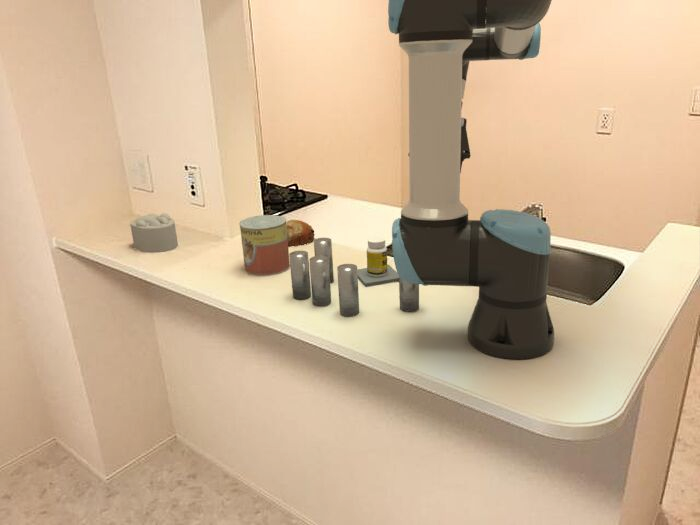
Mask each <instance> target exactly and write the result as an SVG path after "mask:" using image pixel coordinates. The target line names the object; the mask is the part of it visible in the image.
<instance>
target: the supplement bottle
mask: <svg viewBox="0 0 700 525" xmlns="http://www.w3.org/2000/svg"><path fill="white" fill-rule="evenodd" d="M387 265H388V248H387V246H386V239H385V238H384V237H382V236H381V237H380V236H373V237H369V238H368V239H367V247H366V268H367V273H368V275H369V276H372V277H381V276H385V275H386V274H387Z"/></svg>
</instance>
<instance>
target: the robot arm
mask: <svg viewBox="0 0 700 525" xmlns="http://www.w3.org/2000/svg"><path fill="white" fill-rule="evenodd" d="M552 2H553V1H552V0H388V7H387V14H388V22H387V23H388V30H389V32H390V33H391V34H394V35H398V46H399V47H400V48H401V49H402V50H403V51H404V52H405V54H407V57H408V139H409V140H408V157H409V158H408V160H409V161H408V163H409V164H408V165H409V166H408V167H409V168H408V169H409V170H408V173H409V175H408V176H409V179H408V180H409V184H408V185H409V190H408V191H409V194H408V195H409V200H408V202H407V203H406V204H405V205H404V206H403V207H402V208H401V209H400V217H398V218H396V219H395V220H393V223H392V226H391V238H392V240H391V246H392V256H393V262H394V266H395V271H396V272H397V273H398V275H399V277H400V278H401V279H402V280H403V281H404V282H406V283H412V284H419V285H422V286H424V287H426V286H446V287H447V286H449V287H451V286H452V287H478V299H477V301H476V304H475V306H474V308H473V310H472V314H471V317H470V319H469V321H468V324H467V340H468V342H469V343H470V345H472V346H473V348H475V349H477V350H478V351H479V352H482V353H484V354H486V355H487V354H488V355H490V356H493V357H498V358H501V359H502V358H503V359H509V360H510V359H511V360H523V359H524V360H525V359H526V360H527V359H532V358H536V357H540V356H542V355H544V354H546V353H548V352H549V351H551V349H552V348H553V346H554V342H555V328H554V325H553V322H552V318H551V315H550V311H549V308H548V304H547V299H548V298H547V297H548V283H549V282H548V281H549V264H550V255H551V254H552V247H551V240H552V239H551V236H552V235H551V233H552V232H551V229H550V226H549V225H548V223H547V222H545V221H544V219H541V218H540V217H537V216H536V215H533V214H530V213H528V212H523V211H518V210H514V209H504V208H503V209H501V208H500V209H499V208H498V209H495V210H494V209H489V210H486V211H485V210H484V211H483V213H481V216H480V217H479V220H477V219H476V220H475V219H469V209H468V207H466V206H465V205H464V203H462V201H461V199H460V198H461V197H460V195H461V194H460V193H461V190H460V189H461V173H462V167H463V162H464V161H465V160H466V159H470V158H471V156H472V154H471V149H470V144H469V138H468V132H467V122H468V121H467V120H468V119H467V118H465V117H463V116H462V108H463V100H462V99H464V96H465V89H466V84H467V76H468V71H469V68H470V66H469V65H470V62H478V61H480V62H482V61H494V60H495V61H499V60H500V61H501V60H503V61H504V60H521V61H522V60H526V59H534V58H537V57H538V56H539V53H540V47H541V37H542V36H541V31H542V28H541V24H540V22H541V21H542V20H543V19H544V17H545V16H546V15H547V13H548V12H549V10H550V7H551V4H552Z"/></svg>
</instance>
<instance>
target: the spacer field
mask: <svg viewBox="0 0 700 525" xmlns="http://www.w3.org/2000/svg"><path fill="white" fill-rule="evenodd" d="M332 245H333V243H332V238H330V237H318V238H314V239H313V249H314V250H313V251H314V256H312V257H310V258H309V252H308V251H306V250H294V251H291V252H290V253H289V263H290V268H289V269H290V279H291V289H292V299H294V300H296V301H305V300H306V301H307V300H309V299H310V298H311V300H312V305H313V306H314V307H319V308H324V307H328V306H330V305H331V304H332V291H331V284H333V283H334V282H335V277H334V276H335V275H334V261H333V259H334V258H333V246H332ZM336 268H337V269H336V272H337V273H336V274H337V284H338V285H337V287H338V288H337V289H338V302H339V303H338V304H339V305H338V306H339V315H340V316H342V317H345V318H352V317H356V316H358V315H359V314H360V299H359V279H358V272H357V269H358V266H357V264H354V263H342V264H340V265H338V266H337V267H336ZM398 283H399V284H398V287H399V288H398V290H399V292H398V293H399V296H398V298H399V310H400V311H401V312H403V313H408V314H409V313H415V312H418V311H419V310H420V284H412V283H406V282H404V281H403V280H402V279H401V278H400V277H399V281H398Z"/></svg>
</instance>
